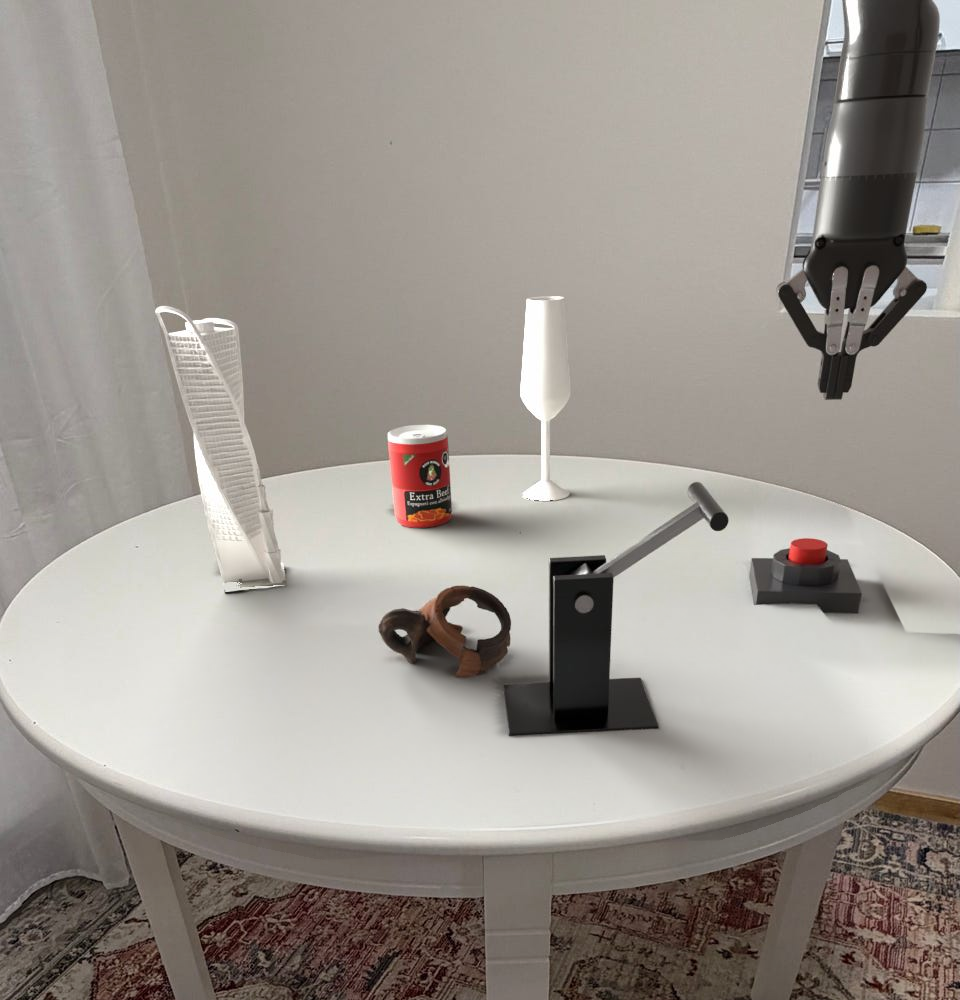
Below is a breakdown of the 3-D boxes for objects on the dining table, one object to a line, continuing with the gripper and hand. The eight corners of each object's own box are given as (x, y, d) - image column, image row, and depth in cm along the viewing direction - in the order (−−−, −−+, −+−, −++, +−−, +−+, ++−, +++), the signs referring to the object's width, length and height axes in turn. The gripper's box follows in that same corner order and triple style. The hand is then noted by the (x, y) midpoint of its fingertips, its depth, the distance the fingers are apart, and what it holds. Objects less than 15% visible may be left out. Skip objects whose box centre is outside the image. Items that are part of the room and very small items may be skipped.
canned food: (407, 532, 123) (399, 441, 116) (386, 516, 129) (378, 429, 122) (462, 522, 125) (457, 433, 119) (439, 507, 131) (433, 421, 125)
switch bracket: (639, 689, 84) (648, 544, 76) (658, 739, 76) (669, 584, 69) (503, 696, 84) (499, 551, 76) (509, 746, 76) (504, 592, 69)
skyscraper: (211, 594, 107) (150, 311, 91) (212, 571, 114) (156, 302, 97) (286, 586, 109) (239, 304, 92) (283, 563, 115) (239, 296, 99)
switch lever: (710, 498, 74) (695, 472, 73) (735, 530, 67) (720, 502, 66) (567, 593, 78) (551, 570, 77) (578, 632, 71) (561, 607, 70)
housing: (844, 579, 103) (851, 542, 101) (858, 614, 95) (865, 575, 93) (749, 577, 105) (753, 541, 102) (754, 612, 97) (760, 573, 94)
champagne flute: (512, 495, 134) (508, 299, 120) (545, 485, 138) (545, 294, 124) (546, 503, 130) (546, 302, 116) (579, 493, 134) (583, 296, 120)
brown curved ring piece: (481, 639, 95) (509, 579, 88) (498, 715, 91) (529, 658, 84) (364, 628, 91) (384, 564, 84) (376, 707, 86) (398, 646, 80)
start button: (822, 555, 99) (825, 538, 98) (826, 567, 96) (829, 549, 95) (786, 554, 99) (789, 537, 98) (789, 566, 96) (792, 549, 95)
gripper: (790, 174, 77) (762, 407, 87) (965, 165, 74) (915, 405, 85) (782, 173, 83) (756, 391, 93) (944, 165, 80) (899, 389, 91)
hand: (832, 397), depth 89 cm, fingers closed
